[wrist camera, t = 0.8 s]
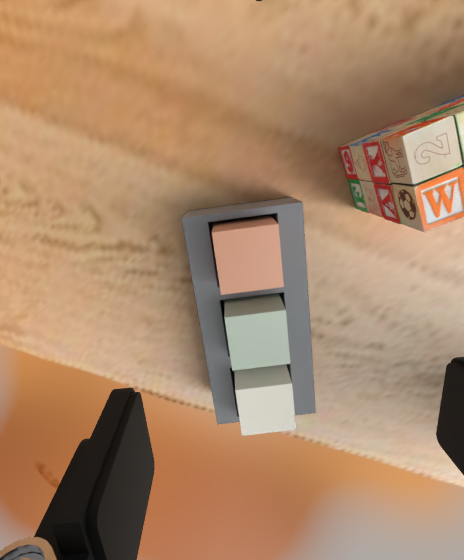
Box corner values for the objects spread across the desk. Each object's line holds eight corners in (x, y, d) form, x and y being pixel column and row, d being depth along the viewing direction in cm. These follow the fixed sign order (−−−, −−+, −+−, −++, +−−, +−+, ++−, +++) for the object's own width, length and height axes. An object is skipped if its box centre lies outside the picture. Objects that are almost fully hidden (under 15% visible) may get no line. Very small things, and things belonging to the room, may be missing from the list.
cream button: (282, 353, 34) (292, 383, 29) (286, 394, 36) (296, 429, 31) (234, 359, 34) (235, 390, 30) (239, 400, 36) (241, 435, 31)
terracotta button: (270, 215, 30) (278, 223, 25) (275, 269, 31) (283, 286, 27) (214, 222, 30) (211, 232, 25) (221, 275, 31) (221, 294, 27)
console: (291, 197, 32) (302, 202, 28) (304, 383, 39) (315, 412, 34) (187, 210, 33) (181, 218, 28) (218, 393, 39) (217, 424, 34)
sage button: (277, 289, 32) (285, 310, 27) (281, 336, 34) (290, 363, 29) (224, 295, 32) (224, 317, 27) (231, 342, 34) (232, 370, 29)
